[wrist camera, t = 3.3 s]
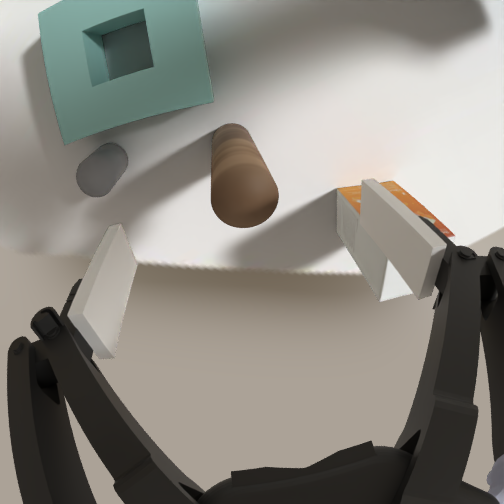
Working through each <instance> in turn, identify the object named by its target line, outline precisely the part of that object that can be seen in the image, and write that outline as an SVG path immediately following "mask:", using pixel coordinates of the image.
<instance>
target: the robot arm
mask: <svg viewBox="0 0 504 504" xmlns="http://www.w3.org/2000/svg"><path fill="white" fill-rule="evenodd" d="M360 224H361V226H362V227H363V228H364V229H365V230H366V232H367V233H368V234H369V235H370V237H371V238H372V239H373V240H374V242H375V243H376V244H377V245H378V247H379V248H380V249H381V250H382V252H383V253H384V254H385V256H386V257H387V258H388V260H389V261H390V262H391V263H392V265H393V266H394V267H395V269H396V270H397V271H398V273H399V274H400V275H401V277H402V278H403V280H404V281H405V282H406V284H407V285H408V286H409V288H410V289H411V291H412V292H413V293H414V295H415V296H416V298H417V299H418V300H419V299H422V298H425V297H428V296H431V295H432V292H433V289H434V286H436V287H437V289H438V290H439V293H438V295H437V298H436V301H435V304H434V306H433V309H435V313H434V319H433V325H432V330H431V335H430V340H429V344H428V349H427V353H426V358H425V362H424V366H423V370H422V374H421V377H420V381H419V385H418V388H417V392H416V395H415V398H414V401H413V405H412V408H411V411H410V414H409V417H408V420H407V422H406V425H405V428H404V430H403V432H402V434H401V435H400V437H399V439H398V441H397V443H396V445H395V447H394V448H393V447H386V446H373V444H372V441H369V442H366V443H363V444H360V445H357V446H353V447H350V448H347V449H344V450H340V451H338V452H336V453H334V454H332V455H330V456H328V457H327V458H325V459H323V460H321V461H319V462H317V463H315V464H313V465H311V466H309V467H306V468H274V467H263V468H257V469H248V470H241V471H231V478H229V479H226V480H224V481H222V482H219V483H218V484H216V485H214V486H213V487H211V488H210V489H209V490H207V491H206V492H205V491H204V490H203V489H201V488H200V487H199V486H198V485H197V484H196V483H195V482H193V481H192V480H191V479H189V478H188V477H187V476H186V475H185V474H184V473H183V472H181V470H180V469H179V468H178V467H177V466H175V464H174V463H173V462H172V461H171V460H170V459H169V458H168V457H167V456H166V455H165V454H164V453H163V451H162V450H161V449H160V448H159V447H158V446H157V445H156V444H155V442H154V441H153V440H152V439H151V438H150V437H149V435H148V434H147V433H146V432H145V431H144V429H143V428H142V427H141V426H140V425H139V423H138V422H137V421H136V420H135V418H134V417H133V416H132V415H131V413H130V412H129V411H128V410H127V408H126V407H125V406H124V404H123V403H122V401H121V400H120V399H119V397H118V396H117V395H116V393H115V392H114V390H113V389H112V387H111V386H110V385H109V383H108V382H107V380H106V379H105V377H104V376H103V374H102V373H101V371H100V370H99V368H98V367H97V365H96V364H95V362H94V361H93V360H92V359H91V358H92V354H93V351H94V353H95V354H96V355H97V356H98V358H99V359H110V358H114V357H115V353H116V348H117V343H118V339H119V334H120V330H121V325H122V321H123V317H124V313H125V309H126V305H127V301H128V297H129V293H130V289H131V285H132V282H133V279H134V275H135V271H136V268H137V265H138V263H137V261H136V259H135V256H134V254H133V252H132V249H131V247H130V244H129V242H128V239H127V237H126V234H125V232H124V229H123V227H122V224H121V223H120V224H116V225H112V226H109V227H108V229H107V231H106V233H105V235H104V236H103V238H102V240H101V242H100V244H99V246H98V248H97V250H96V252H95V254H94V256H93V258H92V260H91V262H90V265H89V267H88V269H87V271H86V273H85V275H84V277H83V279H79V280H78V281H77V282H76V283H75V285H74V286H73V287H72V289H71V292H70V294H69V296H68V298H67V302H66V303H65V305H64V307H63V310H62V312H61V314H60V316H59V315H58V314H57V312H56V311H55V309H53V307H46V308H43V309H41V310H40V311H39V312H37V313H36V314H35V316H34V317H33V318H32V321H31V329H32V330H33V331H34V332H35V334H36V335H37V336H38V337H39V339H40V340H38V341H35V342H33V343H31V342H30V341H29V340H28V339H27V338H26V337H23V336H22V337H19V338H17V339H16V340H14V341H13V342H12V344H11V346H10V348H9V350H8V363H7V396H8V416H9V428H10V437H11V445H12V452H13V458H14V464H15V469H16V475H17V480H18V484H19V488H20V493H21V496H22V500H23V504H97V503H96V501H95V499H94V496H93V494H92V491H91V488H90V486H89V484H88V480H87V478H86V475H85V472H84V469H83V466H82V463H81V460H80V457H79V454H78V451H77V447H76V443H75V440H74V437H73V432H72V428H71V425H70V420H69V416H68V412H67V408H66V403H65V398H66V400H67V402H68V403H69V406H70V408H71V410H72V411H73V413H74V415H75V417H76V419H77V421H78V423H79V424H80V426H81V428H82V430H83V431H84V433H85V435H86V437H87V438H88V440H89V442H90V443H91V445H92V447H93V448H94V450H95V451H96V453H97V454H98V456H99V457H100V459H101V461H102V462H103V464H104V465H105V467H106V468H107V469H108V471H109V472H110V474H111V475H112V477H113V478H114V480H115V483H114V485H113V486H114V489H115V491H116V492H117V494H118V496H119V497H120V498H121V500H122V501H123V502H124V503H125V504H504V249H503V248H499V247H492V248H491V249H490V251H489V254H488V256H477V254H476V253H475V252H474V251H473V250H472V249H470V248H468V247H465V246H456V245H455V244H454V243H453V242H452V241H451V240H450V239H449V238H448V237H446V236H445V235H444V234H443V233H442V232H441V231H440V230H439V229H438V228H437V227H436V226H435V225H434V224H433V223H432V222H430V221H429V220H428V219H426V218H424V217H422V216H417V215H416V214H415V213H413V212H412V211H411V210H410V209H409V208H408V207H407V206H406V205H404V204H403V203H402V202H401V201H400V200H399V199H398V198H396V197H395V196H394V195H393V194H392V193H390V192H389V191H388V190H387V189H386V188H384V187H383V186H382V185H381V184H380V183H378V182H377V181H376V180H375V179H366V180H362V185H361V208H360ZM480 332H481V336H482V341H483V347H484V353H485V359H486V366H487V373H488V381H489V390H490V402H491V419H492V445H493V455H494V461H495V463H494V465H493V467H492V470H491V471H490V472H489V474H488V475H487V483H488V484H489V485H490V489H489V491H488V492H485V491H483V490H481V489H479V488H476V487H474V486H472V485H470V484H468V483H466V482H464V481H462V477H463V474H464V471H465V467H466V464H467V461H468V457H469V454H470V450H471V446H472V442H473V438H474V433H475V428H476V424H477V418H478V407H477V406H476V405H474V404H473V397H474V391H475V384H476V377H477V367H478V358H479V357H478V356H479V343H480ZM64 396H65V398H64Z"/></svg>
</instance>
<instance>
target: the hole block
mask: <svg viewBox="0 0 504 504" xmlns="http://www.w3.org/2000/svg"><path fill="white" fill-rule="evenodd" d="M38 19H39V28H40V36H41V43H42V50H43V56H44V62H45V68H46V73H47V78H48V83H49V88H50V92H51V97H52V101H53V105H54V109H55V113H56V117H57V120H58V124H59V128H60V131H61V135H62V138H63V142H64V145H66V144H69V143H71V142H74V141H76V140H79V139H82V138H84V137H87V136H90V135H93V134H96V133H98V132H101V131H104V130H107V129H110V128H113V127H116V126H120V125H123V124H126V123H129V122H133V121H136V120H140V119H143V118H147V117H151V116H154V115H158V114H162V113H166V112H170V111H174V110H179V109H183V108H188V107H192V106H197V105H202V104H207V103H212V102H213V101H214V96H213V91H212V85H211V79H210V73H209V67H208V62H207V56H206V50H205V44H204V38H203V32H202V26H201V20H200V14H199V8H198V1H197V0H62V1H60V2H58V3H57V4H55V5H53V6H51V7H49V8H47V9H46V10H44V11H42V12H40V13H39V14H38ZM145 20H146V26H147V32H148V38H149V43H150V49H151V54H152V60H153V65H154V67H151V68H147V69H144V70H140V71H137V72H134V73H131V74H128V75H124V76H121V77H118V78H116V79H113V80H110V78H109V73H108V68H107V63H106V58H105V52H104V47H103V41H102V35H104V34H107V33H109V32H112V31H115V30H118V29H120V28H123V27H126V26H129V25H132V24H136V23H139V22H142V21H145Z"/></svg>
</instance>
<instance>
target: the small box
mask: <svg viewBox="0 0 504 504" xmlns="http://www.w3.org/2000/svg"><path fill="white" fill-rule="evenodd" d="M380 184H381V185H382V186H383V187H384V188H386V189H387V190H388V191H389V192H390V193H392V194H393V195H394V196H395V197H396V198H398V199H399V200H400V201H401V202H402V203H403V204H404V205H406V206H407V207H408V208H409V209H410V210H411V211H412V212H413V213H415V214H416V215H417V216H422V217H424V218H426V219H428V220H429V221H430V222H432V223H433V224H434V225H435V226H436V227H437V228H438V229H439V230H440V231H441V232H442V233H443V234H444V235H445V236H446V237H448V238H449V239H450V240H451V241H452V242H453V243H454V240H455V235H454V234H453V233H452V232H451V231H450V230H449V229H448V228H447V227H446V226H445V225H444V224H443V223H442V222H440V221H439V220H438V219H437V218H436V217H435V216H434V215H433V214H432V213H431V212H430V211H428V210H427V209H426V208H425V207H424V206H423V205H422V204H420V203H419V202H418V201H417V200H416V199H415V198H414V197H412V196H411V195H410V194H409V193H408V192H406V191H405V190H404V189H403V188H402V187H400V186H399V185H398V184H397V183H395V182H394V181H389V182H383V183H380ZM360 208H361V185H360V186H352V187H344V188H337V234H338V235H339V237H340V238H341V240H342V242H343V243H344V245H345V246H346V248H347V250H348V251H349V253H350V254H351V256H352V257H353V259H354V261H355V262H356V264H357V265H358V267H359V269H360V270H361V272H362V274H363V275H364V277H365V279H366V280H367V282H368V284H369V285H370V287H371V289H372V291H373V292H374V294H375V296H376V298H377V299H378V301H379V302H381V301H385V300H389V299H392V298H396V297H400V296H404V295H409V294H412V293H413V292H412V291H411V289H410V288H409V286H408V285H407V284H406V282H405V281H404V280H403V278H402V277H401V275H400V274H399V273H398V271H397V270H396V269H395V267H394V266H393V265H392V263H391V262H390V261H389V260H388V258H387V257H386V256H385V254H384V253H383V252H382V250H381V249H380V248H379V247H378V245H377V244H376V243H375V242H374V240H373V239H372V238H371V237H370V235H369V234H368V233H367V232H366V230H365V229H364V228H363V227H362V226H361V224H360Z"/></svg>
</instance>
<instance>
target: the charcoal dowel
mask: <svg viewBox="0 0 504 504" xmlns="http://www.w3.org/2000/svg"><path fill="white" fill-rule="evenodd" d="M127 165H128V157H127V154H126V152H125V151H124V149H123V148H122V147H120V146H119V145H117V144H113V143H108V144H105V145H103V146H101V147H100V148H99V149H97V150H96V151H95V152H94V153H92V154H91V155H90V156H89V157H88V158H86V159H85V160H84V161H83V162H82V163H81V164H80V165H79V167H78V169H77V173H76V179H77V183H78V185H79V187H80V189H81V190H82V191H83V192H84V193H85V194H87V195H89V196H91V197H102V196H104V195H106V194H108V193H109V192H110V190H111V189H112V188H113V186H114V185H115V184H116V182H117V181H118V180H119V178H120V177H121V176H122V174H123V173H124V172H125V170H126V168H127Z"/></svg>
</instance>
